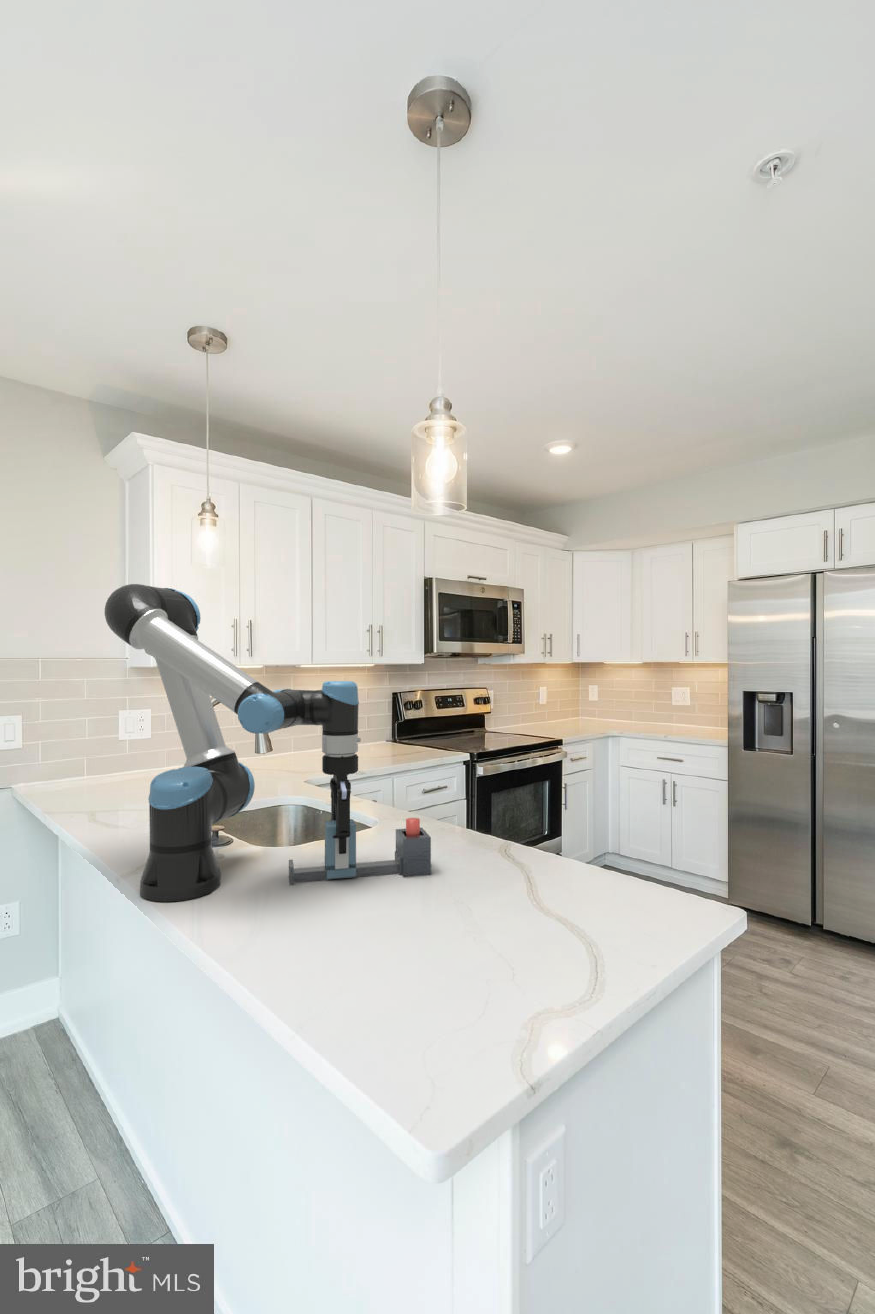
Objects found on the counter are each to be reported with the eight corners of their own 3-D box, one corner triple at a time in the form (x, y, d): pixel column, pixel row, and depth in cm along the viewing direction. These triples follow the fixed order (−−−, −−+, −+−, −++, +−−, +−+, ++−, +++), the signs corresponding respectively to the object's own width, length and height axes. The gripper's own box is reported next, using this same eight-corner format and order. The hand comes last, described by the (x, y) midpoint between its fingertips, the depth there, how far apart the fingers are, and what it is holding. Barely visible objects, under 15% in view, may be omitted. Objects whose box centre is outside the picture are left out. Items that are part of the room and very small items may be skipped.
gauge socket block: (403, 877, 135) (403, 839, 135) (395, 865, 143) (395, 829, 143) (430, 874, 137) (430, 837, 137) (421, 862, 145) (421, 827, 145)
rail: (289, 885, 131) (289, 867, 131) (288, 876, 135) (288, 859, 135) (403, 874, 137) (403, 857, 137) (398, 867, 142) (398, 850, 142)
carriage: (327, 879, 133) (327, 827, 133) (324, 871, 137) (324, 821, 137) (356, 876, 134) (356, 825, 134) (352, 868, 139) (352, 819, 139)
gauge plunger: (407, 849, 138) (407, 821, 138) (404, 845, 141) (404, 818, 141) (421, 848, 139) (421, 820, 139) (417, 844, 142) (417, 817, 142)
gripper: (364, 760, 128) (364, 876, 128) (352, 747, 145) (351, 849, 146) (326, 761, 126) (326, 879, 126) (318, 748, 143) (318, 852, 144)
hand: (340, 863), depth 136 cm, fingers closed on carriage, 5 cm apart
